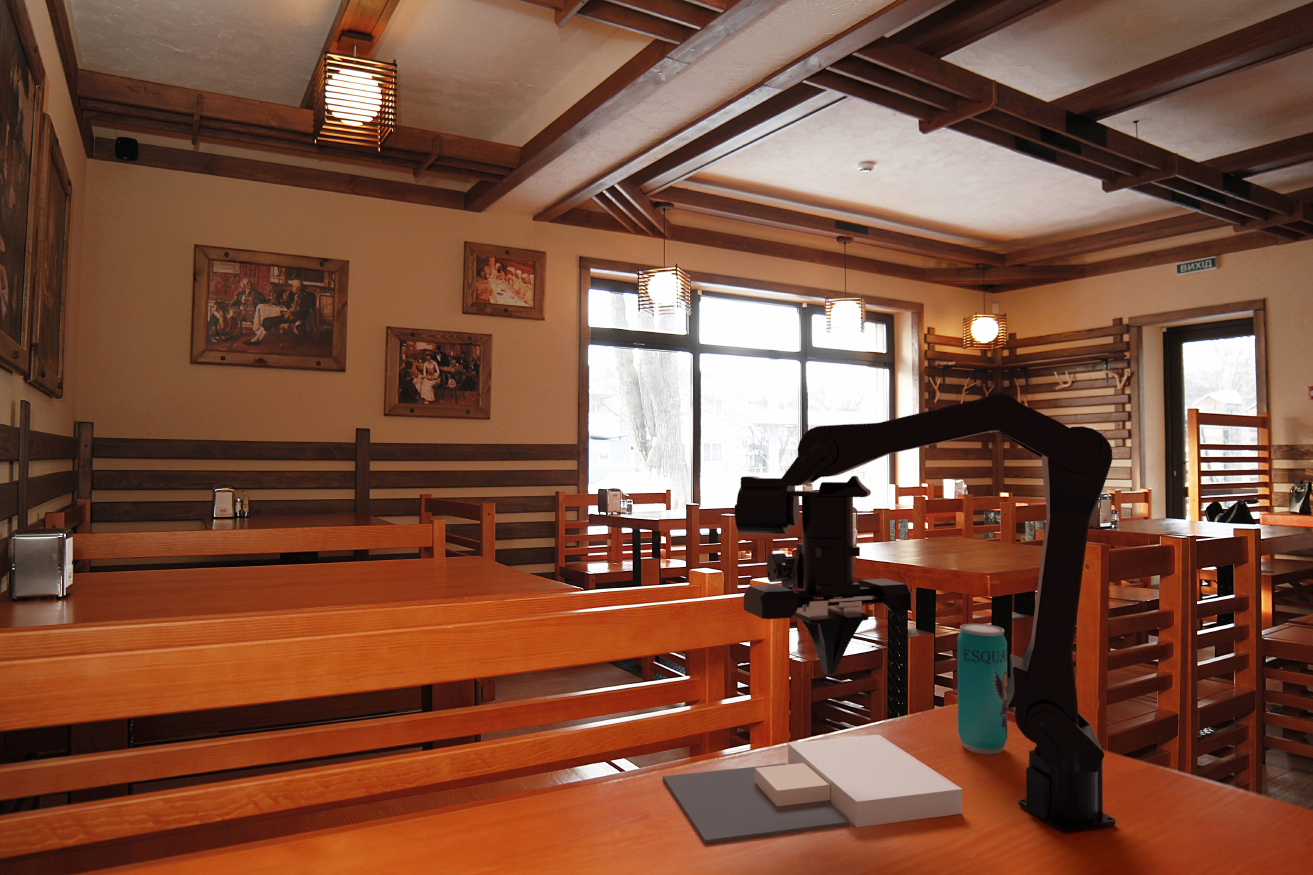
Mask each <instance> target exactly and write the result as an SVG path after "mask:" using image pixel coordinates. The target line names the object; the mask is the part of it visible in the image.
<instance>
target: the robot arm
mask: <svg viewBox="0 0 1313 875" xmlns="http://www.w3.org/2000/svg"><path fill="white" fill-rule="evenodd" d="M991 432H992V433H993V432H995V433H998V434H999V435H1001V436H1003V437H1004V438H1007V439H1008V440H1010V441H1011V442H1012V443H1015V444H1016V445H1018V446H1020V447H1021V448H1022V449H1025V450H1027V451H1028V452H1029V453H1032V454H1033V455H1035V456H1037V457H1039V458H1041V466H1042V468H1041V469H1042V483H1043V490H1044V497H1045V506H1046V508H1045V509H1046V519H1045V526H1044V527H1045V528H1044V536H1043V541H1042V550H1041V559H1040V566H1039V574H1038V582H1037V590H1036V596H1035V607H1034V614H1033V622H1032V630H1031V638H1030V642H1029V645H1028V647H1027V649H1026V652H1025V653H1024V656H1023V657H1020V656H1018V655H1016V654H1010V655H1009V662H1010V665H1009V666H1010V677H1009V680H1008V682H1007V686H1006V687H1005V691H1006V697H1007V708H1009V709H1012V711H1013V714H1014V720H1015V723H1016V726H1017V728H1018V730H1019V731H1020V732H1021V733H1022V734H1023V736H1024V738H1026V739H1028V740H1029V741H1030V742H1032V743H1034V744H1035V745H1036V746H1035V747H1034V749H1032V750H1029V751H1028V766H1027V767H1026V768H1025V776H1026V777H1025V778H1026V779H1025V782H1026V784H1025V785H1026V787H1025V788H1026V789H1025V790H1026V792H1025V793H1026V794H1025V795H1026V797H1025V798H1020V799H1018V800H1017V802H1018V804H1017V805H1019V806H1020V807H1022V808H1023V809H1025V810H1026V811H1028V812H1030V813H1031V814H1032V815H1034V816H1036V817H1038V818H1039V819H1041V820H1042V821H1044V822H1046V823H1047V824H1049V825H1051V827H1054V828H1056V829H1058V830H1059V831H1061V832H1063V833H1065V832H1066V833H1069V832H1076V831H1083V830H1091V829H1098V828H1103V827H1112V826H1116V824H1117V821H1116V818H1114V817H1113V816H1111V815H1109V814H1107V813H1105V812H1104V811H1103V810H1104V806H1103V804H1104V802H1103V801H1104V800H1103V799H1104V798H1103V796H1104V795H1103V794H1104V792H1103V789H1104V788H1103V779H1104V778H1103V760H1104V757H1105V753H1104V750H1103V748H1102V746H1101V743H1100V742H1099V740H1098V738H1097V735H1096V734H1095V731H1094V729H1093V727H1092V725H1091V723H1089V722H1088V720H1087V719H1085V717H1083V716H1082V715H1081V714H1080V712H1079V706H1078V695H1077V694H1078V693H1077V684H1076V677H1075V669H1074V660H1073V650H1074V644H1075V637H1076V629H1077V628H1076V627H1077V620H1078V612H1079V606H1080V605H1079V604H1080V597H1081V588H1082V582H1083V573H1084V565H1085V555H1086V550H1087V542H1088V532H1089V526H1090V521H1091V517H1092V514H1093V513H1094V510H1095V508H1096V506H1097V504H1098V502H1099V498H1100V497H1101V494H1102V492H1103V491H1104V486H1105V483H1106V480H1107V477H1108V474H1109V471H1110V469H1111V465H1112V463H1113V462H1112V461H1113V448H1112V445H1111V443H1110V442H1109V440H1108V439H1107V438H1106V437H1105V436H1104V435H1103V434H1102V433H1101V432H1099V431H1097V430H1096V429H1094V428H1092V427H1087V426H1083V425H1081V426H1070V427H1069V426H1067V425H1065V424H1064V423H1062V422H1059V421H1058V420H1056V419H1054V418H1052V417H1050V416H1048V415H1046V414H1045V413H1044V414H1043V413H1042V412H1040V411H1038V410H1036V409H1033V408H1032V407H1029V406H1027V405H1025V404H1023V403H1021V402H1020V401H1018V400H1016V398H1015V397H1014V396H1012V395H1010V394H1008V393H1004V392H993V393H990V394H987V396H984V397H983V398H978V399H972V400H970V401H965V402H962V403H961V402H960V403H957V404H953V405H948V406H944V407H941V408H940V407H939V408H935V409H932V410H926V411H923V412H919V413H914V414H910V415H905V416H902V417H897V418H893V419H889V420H885V421H881V422H871V423H848V424H844V423H843V424H832V425H819V426H815V427H812V428H810V429H808V430H807V431H806V432H804V434H803V435H802V437H801V438H800V440H799V442H798V446H797V457H796V458H795V460H794V461H793V462H792V463H791V464H790V466H789V467H788V469H787V470H785V473H784V474H783V475H782V477H781V478H780V477H778V478H777V477H775V478H774V477H759V476H754V475H753V476H750V475H749V476H741V477H740V487H739V490H738V493H737V497H736V504H735V505H734V520H735V526H736V529H737V531H738V533H739V534H748V535H751V534H752V535H778V536H779V535H782V536H783V535H784V536H785V535H786V536H787V535H788V534H789V533H790V531H791V527H798V525H799V521H800V514H801V528H802V529H801V533H802V534H801V538H802V539H801V542H799V543H798V542H797V543H796V547H795V557H792V558H791V557H790V558H789V557H787V555H786V554H785V552H783V553H782V552H781V553H770V554H769V555H767V556H766V577H767V580H768V581H769V582H770V583H781V585H779V584H763V585H762V584H761V585H760V584H759V585H749V586H748V588H747V589H746V590H745V592H744V594H743V611H744V612H747V613H750V614H752V615H753V616H755V617H758V618H759V619H762V620H763V619H764V620H775V619H776V620H779V619H780V620H781V619H790V618H792V617H794V618H796V619H799V620H800V621H801V623H802V624H804V626H805V628H806V630H807V632H808V634H809V637H810V638H811V641H812V644H813V647H814V650H815V652H816V656H817V658H818V661H819V664H820V666H821V669H822V672H823V674H825V675H827V676H833V675H836V674H835V673H837V672H836V671H837V670H838V667H839V666H840V663H841V661H842V658H843V657H844V655H845V653H846V651H847V648H848V646H849V644H850V642H851V640H852V639H853V638H854V636H855V634H856V633H857V630H858V628H859V627H860V625H861V624H862V622H864V621H868V620H869V617H870V616H869V614H867V613H863V607H862V606H863V605H867V604H880V603H882V605H883V606H884V607H885V608H886V609H887V610H888V611H890V612H893V611H897V612H898V611H909V610H912V609H913V593H912V592H911V590H910V587H909V586H908V584H906V583H904V582H899V581H895V580H891V579H888V578H873V579H872V578H870V579H859V581H858V582H855V581H854V580H855V578H854V577H855V576H854V575H855V572H854V571H855V570H854V569H855V567H854V564H855V562H854V557H860V555H861V552H860V551H861V547H860V546H855V545H854V498H866V497H869V496H870V495H871V493H872V492H871V490H870V489H869V488H868V487H866V486H865V485H864V484H863V483H862V482H861V480H860V478H859V476H857V475H852V476H851V477H850V478H849V479H848V481H846V482H845V481H843V482H842V481H841V482H840V481H822V482H821V483H820V485H819V488H818V490H796V487H798V486H805V485H811V484H812V483H815V482H816V481H817V480H819V479H821V478H826V477H827V478H828V477H835V476H839V475H842V474H844V473H847V472H850V471H852V470H855V469H857V468H860V467H862V466H864V465H866V464H868V463H871V462H873V461H875V460H878V459H880V458H883V457H886V456H887V455H888V456H889V455H891V454H895V453H900V452H904V451H910V450H913V449H918V448H923V447H927V446H931V445H936V444H941V443H946V442H949V441H954V440H959V439H963V438H964V439H965V438H968V437H972V436H977V435H981V434H987V433H991ZM800 497H801V510H800ZM800 511H801V513H800ZM798 589H800V590H798ZM801 589H802V590H801ZM794 590H795V591H794Z"/></svg>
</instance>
